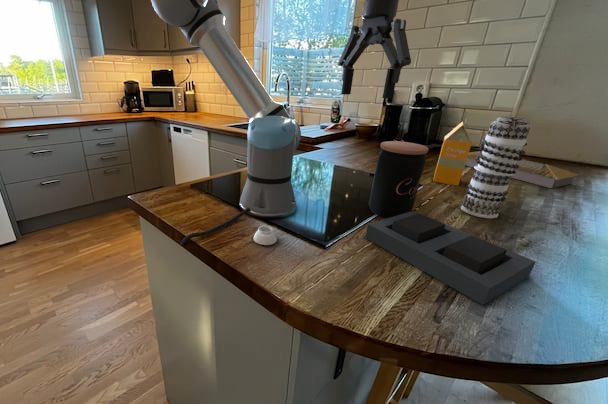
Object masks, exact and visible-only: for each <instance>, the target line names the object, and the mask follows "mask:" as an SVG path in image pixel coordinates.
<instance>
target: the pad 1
mask: <svg viewBox="0 0 608 404" xmlns="http://www.w3.org/2000/svg"><path fill="white" fill-rule="evenodd" d="M418 213H419V214H416V215H412V216H409V217H406V218H402V219H399V220H396V221H393V225H392V229H391V230H393V231H395V232H397V233H399V234H401V235H403V236H405V237H407V238H409V239H411V240H413V241H415V242H417V243H419V244H421V243H423V242H426V241H428V240H431V239H434V238H436V237H439V236H442V234H443V231H444V228H445V225H446V224H447V223H444V222H442V223H441V221H439V220H437V219H434V218H432V217H430V216H428V215H425V214H422V213H420V212H418ZM429 217H430V218H429Z"/></svg>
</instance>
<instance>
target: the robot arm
mask: <svg viewBox="0 0 608 404" xmlns="http://www.w3.org/2000/svg"><path fill="white" fill-rule="evenodd" d="M399 1H400V0H364V2H363V6H362V12H361V18H362V25H352V27H351V30H350V34H349V37H348V40H347V42H346V44H345V46H344V49H343V51H342V53H341V55H340V57H339V60H338V62H337V65H338V66H339V67H341V68H342V76H341V82H342V86H341V87H342V88H341V93H340V95H351V93H352V85H353V80H354V73H355V68H354V65H355V64H356V62H358V60H359V59H360V57H361V56H362V55H363V53H364V52H365V50H366V48H368V47H369V46H370V45H371V46H373V45H380V46H381V47H382V49H383V52H384V53H385V56H386V58H387V60H388V62H389V65H390V66H389V68H387V71H386V77H385V83H384V87H383V92H382V98H381V99H393V97H394V93H395V87H396V84H398V83H399V81H400V76H401V71H402V68H404V67H406V66H410V65H411V64H412V58H411V53H410V49H409V48H410V47H409V44H408V37H407V31H406V27H407V20H406V19H403V18H396V16H397V12H398V7H399V3H400V2H399ZM150 2H151V5H152V7H153V10H154V11H155V13H156V14H157V16H158V17H159V18H160V19H161V20H162V21H164V22H165V23H166V24H168V25H170V26H173V27H176V28H178V29H180V31H181V32H182V34H183V35H184V37H185V38H186V39H187V41H188V43H189V44H190V45H191V47H198V48H200V50H201V51H202V53H203V55H204V56H205V57H206V59H207V60H208V62H209V63H210V64H211V66H212V68H213V69H214V71H215V72H216V74H217V75H218V76H219V77H220V79H221V80H222V82H223V83H224V85H225V87H226V88H227V89H228V91H229V92H230V94H231V95H232V97H233V98H234V100H235V101H236V102H237V104H238V106H239V107H240V109H241V110H242V111H243V113H244V114H245V116H246V117H247V119H248V120H249V121H248V126H247V127H248V128H247V133H246V138H247V151H246V153H247V156H246V157H247V160H246V161H247V162H246V181H245V184H244V186H243V190H242V192H241V194H240V198H239V208H240V210H241V212H239V213H237V214H236V215H235V216H233V217H232V218H230V219H227V220H226V221H224V222H222V223H220V224H218V225H216V226H214V227H212V228H209V229H207V230H204V231H197V232H192V233H189V234H188V235H186V236H185V237H184V238H183V239H182V240H181V241H180V243H179V245H180V246H184V245H185V244H186V243H187V242H188V241H189V240H191V239H192V238H195V237H202V236H207V235H210V234H212V233H214V232H216V231H219V230H220V229H222V228H225V227H226V226H228V225H230V224H231V223H234V222H235V221H237V220H238V219H240V218H241V217H243V215H245V214H246V215H249V216H251V217H254V218H259V219H268V220H269V219H270V220H272V219H273V220H275V219H282V218H287V217H289V216H291V215H293V214H294V213H295V212H296V209H297V200H296V195H295V192H294V187H293V184H292V175H293V164H294V163H293V162H294V154H295V152H296V150H297V149H298V147H299V145H300V143H301V139H302V131H301V127H300V124H299V122H298V121H297V120H296V119H295V117H292V116H291V115H290V114H289V112H288V111H287V110H286V108H285V106H284V105H283V104H282V102H276V101H274V100H273V98H272V97H271V95H270V94H269V92H268V90H267V89H266V87H265V86H264V85H263V83H262V81H261V80H260V79H259V77H258V75H257V74H256V72H255V71H254V69H253V68H252V66H251V65H250V63H249V61H248V60H247V58H246V57H245V56H244V54H243V53H242V52H241V50H240V48H239V47H238V45H237V43H236V42H235V40H234V39H233V38H232V36H231V35H230V33H229V31H228V30H227V29H226V27H225V23H226V21H225V20H226V17H225V15H224V13H223V12H222V10H221V9H220V8H219V3H218V0H150ZM394 19H395V20H394ZM391 32H392V34H393V37H392V35H391ZM393 38H394V39H393Z"/></svg>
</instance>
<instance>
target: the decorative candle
mask: <svg viewBox="0 0 608 404" xmlns="http://www.w3.org/2000/svg"><path fill="white" fill-rule="evenodd" d="M533 127H534V126H533V125H531V123H530V120H529V119H527V118H524V117H517V116H499V117H497V118H496V119H495V120H494V121H491V122H490V126H489V129H488V132H487V134H486V135H485V137H483V138H481V140H480V142H481V144H480V145H479V146H478V147H479V149H480V150H479V151H480V152H479V151H478V152H479V153H478V154H477V155H478V158H477V159H476V162H477V163H478V164H476V166H475V167H473V168H474V169H475V171H474V173H473V176H472V177H471V179H470V182H469V184H467V187H468V188H467V189H466V190H465V192H466V194H465V195H464V196H463V200H462V201H461V204H462V205H461V206H460V209H461V211H462V212H464V213H466V214H469V215H471V216H474V217H478V218H483V219H497V218H498V217H499V214H500V212H501V211H502V210H501V208H502V207H503V206H504V204H503V202H504V201H505V200H506V197H505V196H507V195H508V188H509V186H510V184H509V183H510V181H511V179H512V178H511V176H512V175H514V174H515V173H516V171H514V170H513V169H516V168H518V167H519V166H518V165H517V163H516V162H517V161H520V160H523V159H524V158H523V157H522V155H525V154H526V151H525V150H524V149H523V147H526V146H527V145H528V143H527V140H528V135H529V134H530V130H531V128H533Z"/></svg>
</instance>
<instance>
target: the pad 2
mask: <svg viewBox="0 0 608 404" xmlns="http://www.w3.org/2000/svg"><path fill="white" fill-rule="evenodd" d="M477 237H478V236H476V237H475V235H473V236H469V237H467V238H464V239H462V240H459V241H457V242H454V243H452V244H450V245H447V246H446V247H445V250H444V253H443V256H444V257H446V258H448V259H450V260H452V261H454V262H456V263H458V264H460V265H462V266H464V267H466V268H468V269H470V270H472V271H474V272H476V273H478V274H480V275H483V274H484V273H486V272H488V271H490V270H492V269H494V268H496V267H498V266H499V265H501V263H502V261H503V259H504V256H505V254H506V252H507V250H508V249H507V248H505V249H504V247H502V246H500V245H497V244H495V243H492V242H490V241H488V240H485V239H483V240H482V238H480V237H478V238H477ZM484 240H485V241H484ZM487 241H488V242H487ZM489 242H490V243H489ZM494 244H495V245H494ZM499 246H500V247H499ZM501 247H502V248H501ZM506 249H507V250H506Z"/></svg>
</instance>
